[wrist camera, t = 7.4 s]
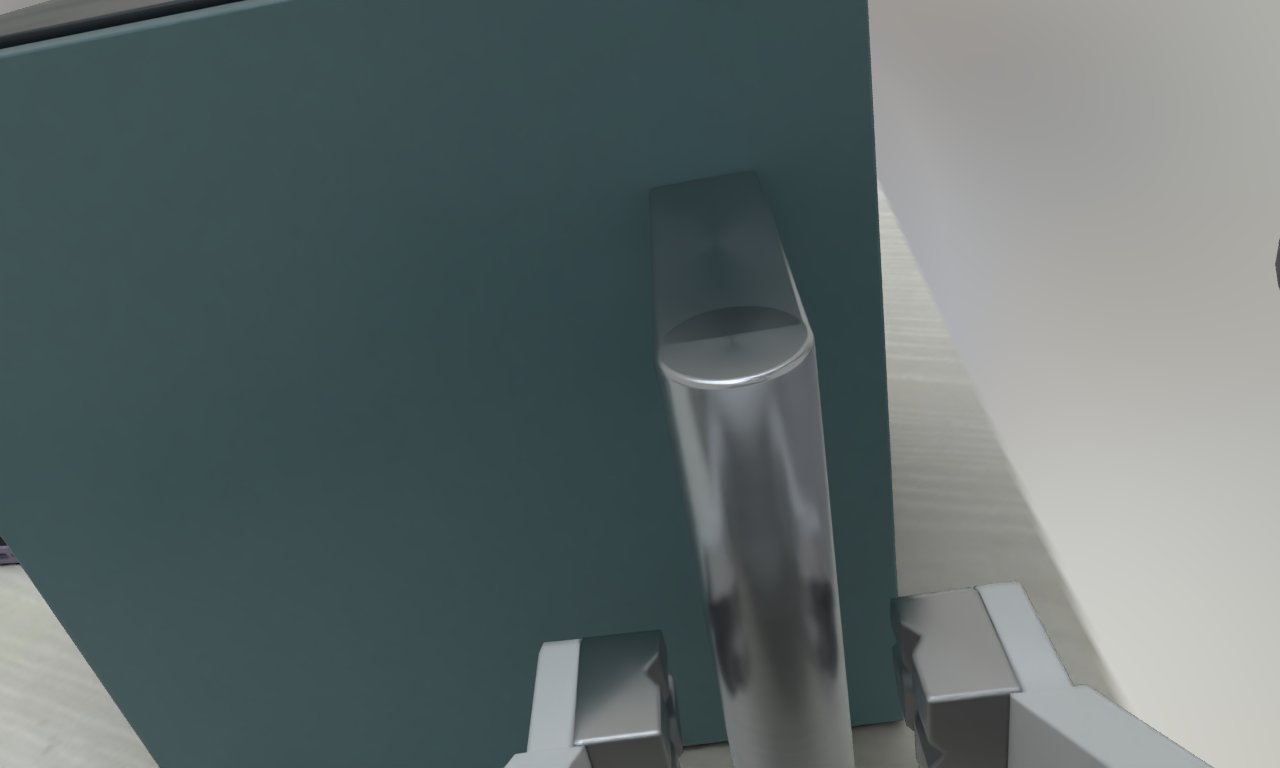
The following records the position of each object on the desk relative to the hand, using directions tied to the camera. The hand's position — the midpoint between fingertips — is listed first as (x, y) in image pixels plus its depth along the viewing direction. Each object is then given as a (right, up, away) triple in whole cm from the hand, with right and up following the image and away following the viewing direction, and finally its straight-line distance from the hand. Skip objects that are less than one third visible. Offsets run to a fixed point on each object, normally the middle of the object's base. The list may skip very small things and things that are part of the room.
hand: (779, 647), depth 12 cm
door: (-4, -6, +7) cm, 10 cm away
